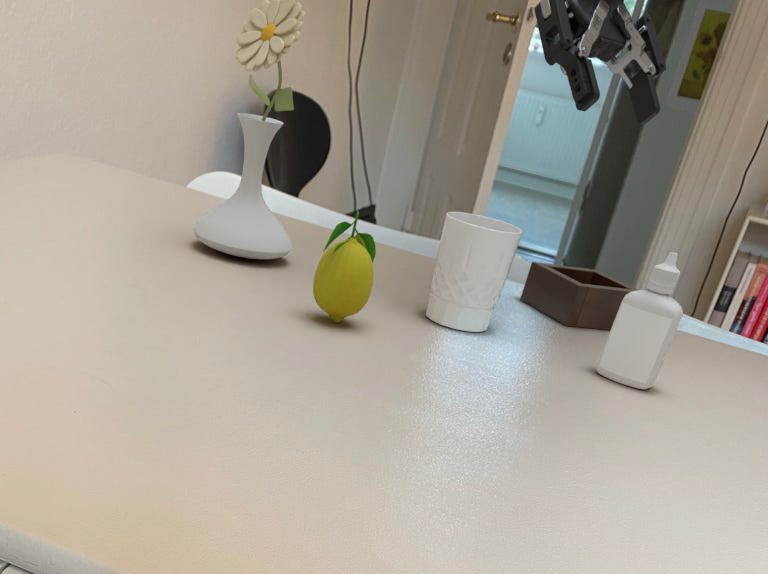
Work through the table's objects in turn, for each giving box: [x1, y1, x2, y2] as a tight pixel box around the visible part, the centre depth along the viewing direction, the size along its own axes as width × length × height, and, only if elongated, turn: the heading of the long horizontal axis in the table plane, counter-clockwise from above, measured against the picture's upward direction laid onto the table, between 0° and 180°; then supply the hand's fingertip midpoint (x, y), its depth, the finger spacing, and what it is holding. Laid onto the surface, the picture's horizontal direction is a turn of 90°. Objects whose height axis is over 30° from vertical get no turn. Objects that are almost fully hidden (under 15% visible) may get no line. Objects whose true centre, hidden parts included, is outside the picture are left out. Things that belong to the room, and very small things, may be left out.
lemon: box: [312, 210, 377, 323], centre depth 84 cm, size 7×6×10 cm
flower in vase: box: [192, 0, 306, 260], centre depth 96 cm, size 13×11×25 cm
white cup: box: [425, 211, 524, 333], centre depth 94 cm, size 8×8×10 cm
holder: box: [519, 261, 639, 331], centre depth 109 cm, size 10×10×4 cm
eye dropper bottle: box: [596, 251, 684, 390], centre depth 86 cm, size 4×6×12 cm
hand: (620, 112), depth 85 cm, fingers open, 8 cm apart
